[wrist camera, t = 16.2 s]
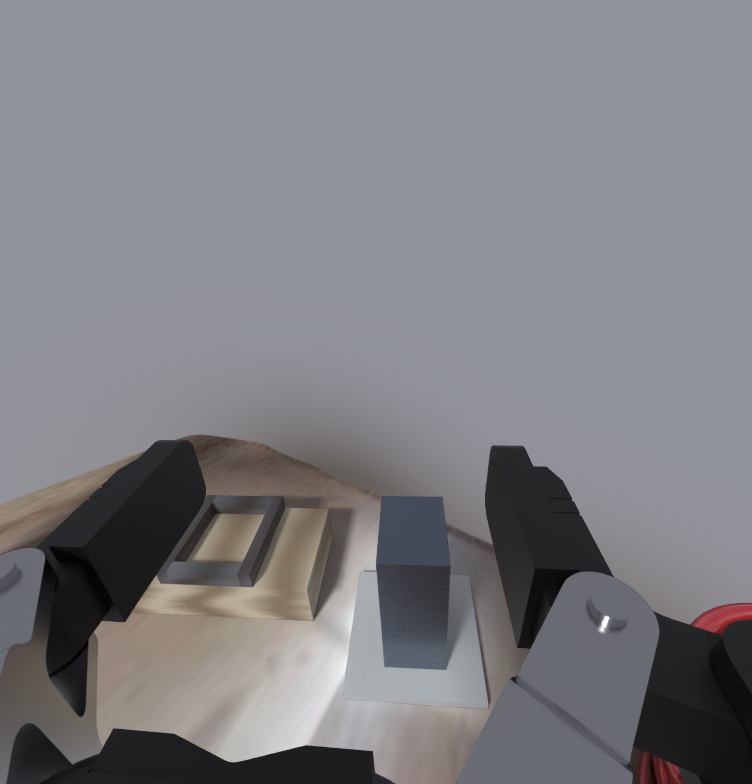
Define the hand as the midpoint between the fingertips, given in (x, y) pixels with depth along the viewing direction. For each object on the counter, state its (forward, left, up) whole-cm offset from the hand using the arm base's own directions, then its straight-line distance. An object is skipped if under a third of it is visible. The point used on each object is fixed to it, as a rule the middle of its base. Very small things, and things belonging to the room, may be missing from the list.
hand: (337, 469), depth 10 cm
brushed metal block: (+2, +11, -24) cm, 27 cm away
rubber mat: (+2, +11, -25) cm, 27 cm away
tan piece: (-15, +16, -25) cm, 33 cm away
